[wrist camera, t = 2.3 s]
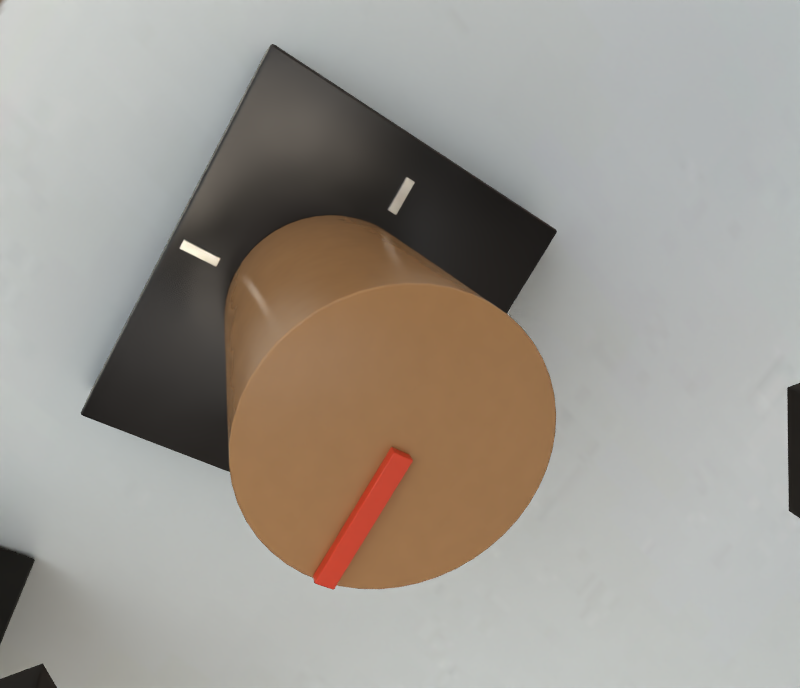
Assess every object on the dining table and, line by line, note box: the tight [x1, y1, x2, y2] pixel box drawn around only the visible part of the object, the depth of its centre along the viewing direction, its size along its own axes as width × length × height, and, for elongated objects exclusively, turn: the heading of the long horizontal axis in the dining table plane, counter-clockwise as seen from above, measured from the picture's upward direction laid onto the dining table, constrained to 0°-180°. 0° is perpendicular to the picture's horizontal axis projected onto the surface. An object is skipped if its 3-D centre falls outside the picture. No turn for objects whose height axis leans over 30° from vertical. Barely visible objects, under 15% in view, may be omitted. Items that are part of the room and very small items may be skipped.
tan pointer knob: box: [224, 215, 556, 589], centre depth 21 cm, size 8×8×11 cm
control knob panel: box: [81, 44, 557, 472], centre depth 27 cm, size 15×13×3 cm
